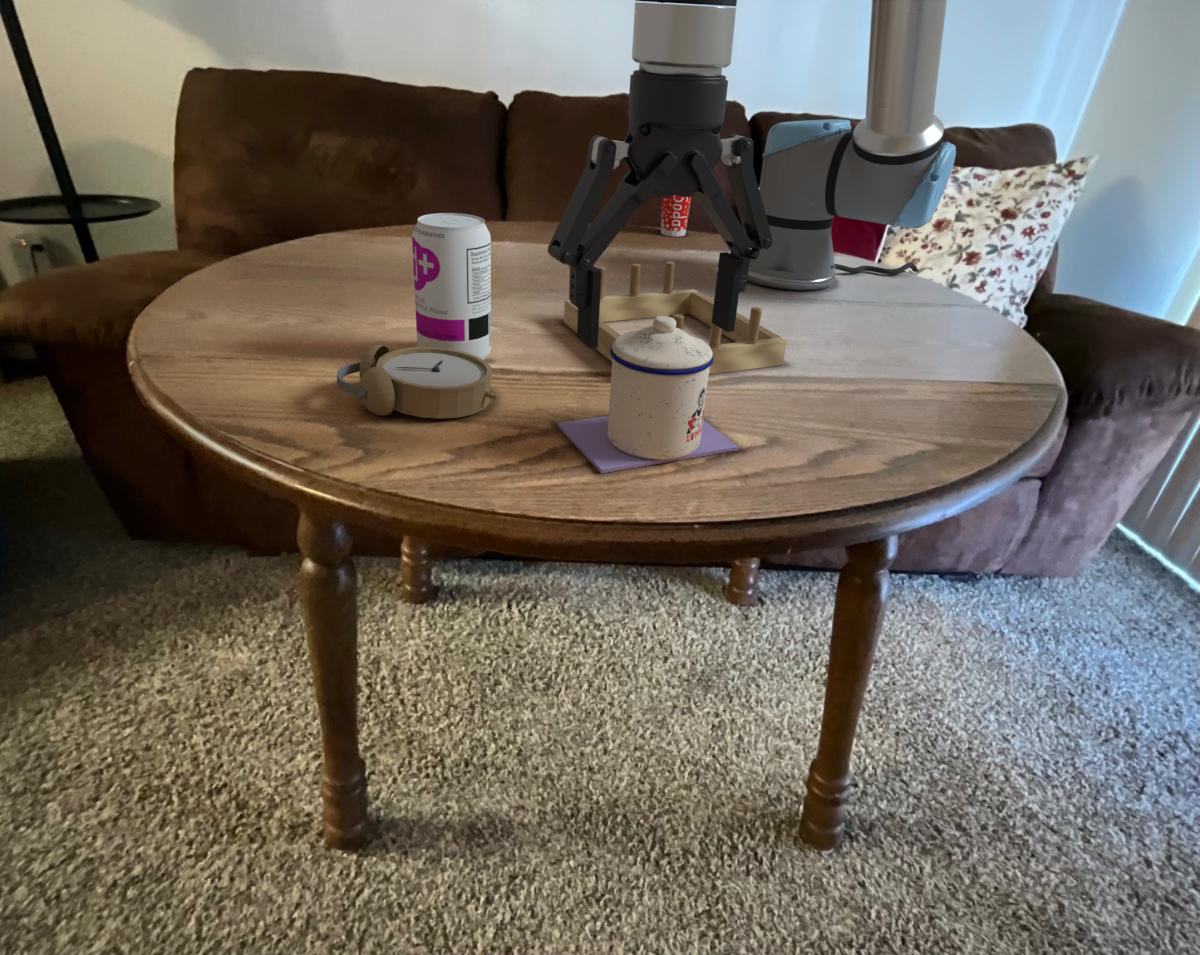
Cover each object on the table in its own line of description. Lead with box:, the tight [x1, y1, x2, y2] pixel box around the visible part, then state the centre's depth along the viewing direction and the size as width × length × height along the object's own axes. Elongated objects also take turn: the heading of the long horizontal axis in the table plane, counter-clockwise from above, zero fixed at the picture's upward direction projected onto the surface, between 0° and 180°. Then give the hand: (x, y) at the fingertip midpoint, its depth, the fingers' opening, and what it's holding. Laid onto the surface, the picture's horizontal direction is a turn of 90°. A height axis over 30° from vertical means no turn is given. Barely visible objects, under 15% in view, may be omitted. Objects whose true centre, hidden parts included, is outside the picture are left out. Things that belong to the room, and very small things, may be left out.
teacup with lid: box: [608, 316, 714, 460], centre depth 77 cm, size 12×9×12 cm
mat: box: [557, 415, 739, 474], centre depth 79 cm, size 14×10×1 cm
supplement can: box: [411, 212, 492, 361], centre depth 92 cm, size 8×8×15 cm
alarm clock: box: [336, 344, 498, 420], centre depth 83 cm, size 11×5×15 cm
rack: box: [563, 261, 788, 375], centre depth 102 cm, size 19×21×7 cm
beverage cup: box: [660, 195, 692, 237], centre depth 154 cm, size 6×6×14 cm
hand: (657, 335), depth 75 cm, fingers open, 13 cm apart
